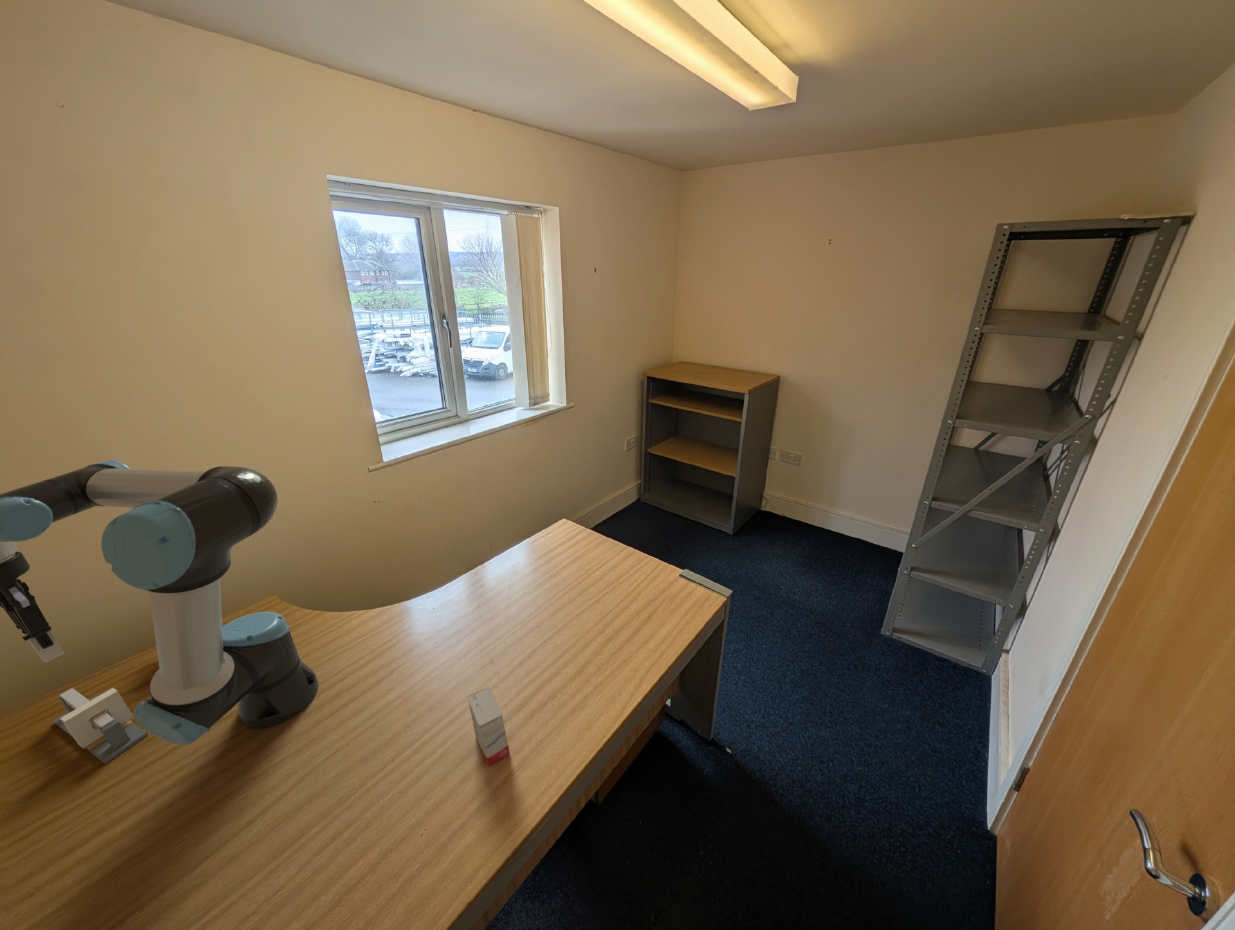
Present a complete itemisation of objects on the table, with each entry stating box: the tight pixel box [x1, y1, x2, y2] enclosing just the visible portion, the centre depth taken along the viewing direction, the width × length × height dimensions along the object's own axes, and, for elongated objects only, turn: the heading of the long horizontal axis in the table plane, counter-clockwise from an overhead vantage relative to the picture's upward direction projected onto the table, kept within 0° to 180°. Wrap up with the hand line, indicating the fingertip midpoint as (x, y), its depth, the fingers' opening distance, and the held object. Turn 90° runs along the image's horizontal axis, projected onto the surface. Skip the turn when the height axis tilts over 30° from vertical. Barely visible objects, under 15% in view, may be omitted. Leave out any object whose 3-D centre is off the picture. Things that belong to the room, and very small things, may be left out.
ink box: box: [467, 686, 510, 767], centre depth 94 cm, size 9×5×12 cm, turn 33°
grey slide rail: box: [52, 687, 149, 765], centre depth 99 cm, size 23×7×7 cm, turn 66°
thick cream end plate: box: [60, 687, 134, 749], centre depth 96 cm, size 2×8×8 cm, turn 156°
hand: (53, 656), depth 92 cm, fingers closed
